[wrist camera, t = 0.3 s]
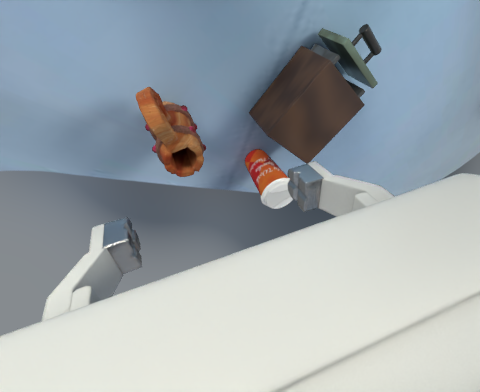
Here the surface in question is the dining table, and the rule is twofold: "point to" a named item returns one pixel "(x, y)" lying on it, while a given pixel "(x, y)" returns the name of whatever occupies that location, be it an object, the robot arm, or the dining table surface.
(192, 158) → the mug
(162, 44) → the dining table surface
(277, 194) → the paper cup
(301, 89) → the cabinet
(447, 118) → the dining table surface
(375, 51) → the drawer
